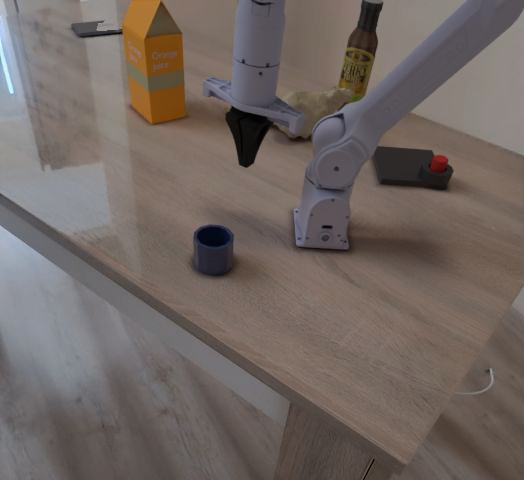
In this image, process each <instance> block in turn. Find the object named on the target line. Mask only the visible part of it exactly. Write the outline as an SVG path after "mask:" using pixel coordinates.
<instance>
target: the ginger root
mask: <svg viewBox="0 0 524 480" xmlns="http://www.w3.org/2000/svg"><path fill="white" fill-rule="evenodd" d="M331 88H332V89H333V90H330V91H328V90H326V91H325V90H324V91H306V90H294V91H291V92H288V93H286V94H285V95H284V96H283V97H281V98H280V99H281V100H283V101H284V102H286V103H287V104H289V105H290V106H292V107H293V108H295V109H297V110H299V111H301V112H303V113H305V118H304V124H303V129H301V130H300V131H298V132H297V133H292V132H290V131H289V128H287V127H285V126H282V125H280V124H277V123H275V122H274V123H273V125H272V126H277V127H278V129H279V130H280V131H282V132H283V133H285V134H286V135H287V136H288V138H290V139H291V138H292V139H293V138H298V137H301V138H302V139H308V138H309V137H310V136H312V131H313V129H314V127H315V125H316V124H317V123H318V122H319V121H320V120H321V119H322V118H324V117H326V116H328V115H332V114H334V113H336V112H337V111H338V110H340V109H339V108H340V107H341V106H342V105H343V103H344V102H345V101H347V100H348V99H349V98H351V97H352V94H353V92H352V91H351V90H350V89H348V90H346V88H342V89H337V86H332V87H331Z"/></svg>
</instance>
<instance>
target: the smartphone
mask: <svg viewBox="0 0 524 480" xmlns="http://www.w3.org/2000/svg"><path fill="white" fill-rule="evenodd" d="M105 20H106V19H104V20H103V19H102V20H95V21H84V22H73V23H71V24H70V27H71V28H72V30H73V32H75V33H76V34H77V36H78V37H90V36H98V35H99V36H100V35H108V34H115V33H123V31H122V29H119V30H107V31H97V30H96V29H97V26H98V23H103V22H104V21H105Z"/></svg>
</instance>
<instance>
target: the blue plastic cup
mask: <svg viewBox="0 0 524 480" xmlns="http://www.w3.org/2000/svg"><path fill="white" fill-rule="evenodd" d="M234 243H235V234H234V232H232V230H231V229H230V228H229V227H227V226H224V225H221V224H211V223H209V224H206V225H201V226H199V227H198V228H197V229H196V230H194V231H193V238H192V244H193V262H194V266H195V267H196V269H197V270H198V271H199V272H201V273H203V274H206V275H210V276H218V275H223V274H225V273H227V272H229V271H230V270H231V269H232V267H233V264H234Z"/></svg>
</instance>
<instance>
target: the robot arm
mask: <svg viewBox="0 0 524 480" xmlns="http://www.w3.org/2000/svg"><path fill="white" fill-rule="evenodd" d="M285 6H286V0H237V8H236V10H235V14H234V15H235V16H234V18H235V19H234V31H233V33H234V34H233V49H232V64H231V65H232V67H231V80H226V79H221V78H218V77H215V76H212V75H211V76H208V77H207V78H205V79H203V80H202V96H204V97H206V98H211V97H213V98H215V99H217V100H219V101H222V102H224V103H226V104H229V105H230V107H229V111H227V112H225V114H224V116H225V117H224V119H225V122H226V125H227V126H228V128H229V130H230V132H231V135H232V138H233V141H234V145H235V146H234V147H235V150H236V155H237V161H238V166H241V167H243V168H245V169H247V168H250V167H251V166H252V165H253V164H255V161H256V158H257V155H258V152H259V149H260V147H261V145H262V143H263V142H264V139H265V137H266V135H267V134H268V132H269V131H270V129H271V127H272V126H274V125H273V123H274V122H275V123H277V124H280V125H282V126H285V127H287V128H289V131H290V132H292V133H297V132H298V131H300V130H301V129H303V124H304V118H305V113H303V112H301V111H299V110H297V109H295V108H293V107H292V106H290V105H289V104H287V103H286V102H284V101H283V100H281V99H282V98H280V97H278V96H277V89H278V83H279V82H278V81H279V73H280V65H281V59H282V58H281V57H282V50H283V42H284V35H285V27H286V21H287V19H286V18H287V17H286V14H285V8H286V7H285ZM523 11H524V0H466V1H465V2H463V3H462V4H461V5H460V6H459V7H458V8H457V9H456V10H455V11H454V12H453V13H452V14H451V15H450V16H448V17H447V18H446V19H445V20H444V21H443V22H442V23H441V24H439V26H438V27H436V29H434V30H433V31H432V33H430V34H429V35H428V36H427V37H426V38H425V39H424V40H423V41H422V42H421V43H419V44H418V45H417V46H416V47H415V49H413V50H412V51H411V52H409V54H408V55H406V57H404V59H402V61H400V62H399V63H398V64H397V65H396V66H395V67H394V68H393V69H392V70H391V71H389V72H388V73H387V75H385V76H384V77H383V78H382V79H381V80H380V81H379V82H378V83H377V84H376V85H375V86H374V87H372V88H371V89H370V90H369V91H368V92H366V94H365V96H364V97H363V98H362V99H361V100H360V101H357V102H353V103H349V104H346V105H345V106H344V107H343V108H342V109H339V110H337V111H335V112H334V113H333V114H332V115H328V116H326V117H324V118H322V119H321V120H320V121H319V122H318V123H317V124H316V125H315V127H314V129H313V131H312V134H311V135H310V136H311V137H310V139H311V145H312V159H311V160H310V162H308V163H307V165H306V167H305V171H304V177H303V184H302V189H301V190H302V191H301V197H300V203H299V208H297V207H295V208H294V209H293V222H294V223H293V224H294V235H295V245H296V247H299V248H313V249H330V250H349V249H350V244H349V238H348V233H347V231H348V226H349V223H350V220H351V219H350V218H351V216H352V215H351V203H350V201H351V197H352V193H353V189H354V184H355V181H356V179H357V178H358V176H359V173H360V171H361V169H362V168H363V167H364V165H365V164H366V163H367V162H368V161H370V160H371V159H372V156H373V154H374V152H375V150H376V148H377V146H379V144H380V142H381V139H382V137H383V136H384V135H385V134H386V133H388V131H390V130H391V129H392V128H393V127H394V126H396V125H397V124H398V123H399V122H401V120H403V119H404V118H405V117H406V116H407V115H409V114H410V113H411V112H412V111H413V110H415V109H416V108H417V107H418V106H419V105H420V104H422V103H423V102H424V101H425V100H426V99H427V98H429V97H430V96H431V95H432V94H434V93H435V92H436V91H437V90H438V89H439V88H440V87H441V86H443V85H444V84H445V83H446V82H448V81H449V80H450V79H451V78H452V77H453V76H454V75H455V74H457V73H459V71H461V69H463V68H464V67H465V66H466V65H467V64H468V63H470V62H471V61H472V60H473V59H475V58H476V57H477V56H478V55H479V54H480V53H481V52H483V51H484V50H485V49H486V48H487V47H488V46H490V45H491V44H492V43H493V42H494V41H496V40H497V39H498V38H499V37H501V36H502V35H503V34H504V33H505V32H506V31H508V30H509V29H510V28H511V27H512V26H513V25H515V23H516V22H517V21H518V19H519V18H520V16H521V14H522V13H523Z"/></svg>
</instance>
